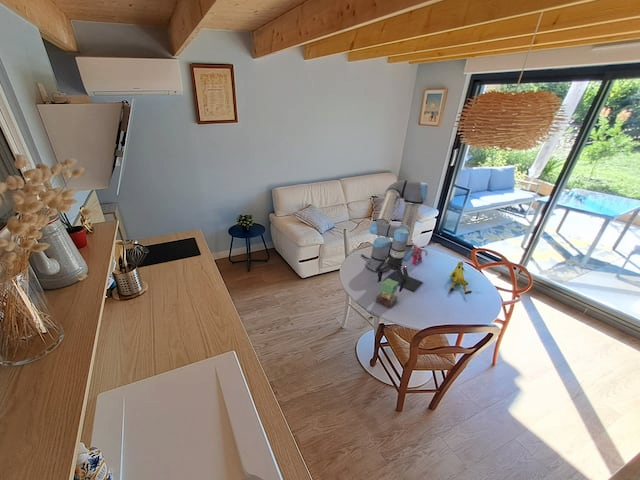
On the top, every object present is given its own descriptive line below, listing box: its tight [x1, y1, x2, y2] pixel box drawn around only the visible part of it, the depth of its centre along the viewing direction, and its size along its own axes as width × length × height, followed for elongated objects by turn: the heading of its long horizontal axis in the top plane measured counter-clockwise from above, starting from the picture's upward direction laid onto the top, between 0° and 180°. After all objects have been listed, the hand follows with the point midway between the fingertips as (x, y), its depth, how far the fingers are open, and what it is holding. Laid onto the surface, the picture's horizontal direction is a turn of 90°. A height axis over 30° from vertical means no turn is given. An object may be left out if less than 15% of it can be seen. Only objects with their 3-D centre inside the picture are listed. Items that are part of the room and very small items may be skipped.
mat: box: [384, 270, 423, 292], centre depth 196 cm, size 20×14×1 cm
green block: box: [380, 277, 399, 295], centre depth 172 cm, size 7×7×6 cm
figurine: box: [449, 261, 472, 295], centre depth 192 cm, size 11×11×30 cm
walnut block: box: [375, 291, 398, 309], centre depth 177 cm, size 9×9×4 cm
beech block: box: [381, 291, 394, 300], centre depth 174 cm, size 5×5×4 cm
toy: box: [411, 239, 429, 265], centre depth 215 cm, size 9×26×30 cm, turn 33°
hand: (389, 286), depth 172 cm, fingers open, 13 cm apart
